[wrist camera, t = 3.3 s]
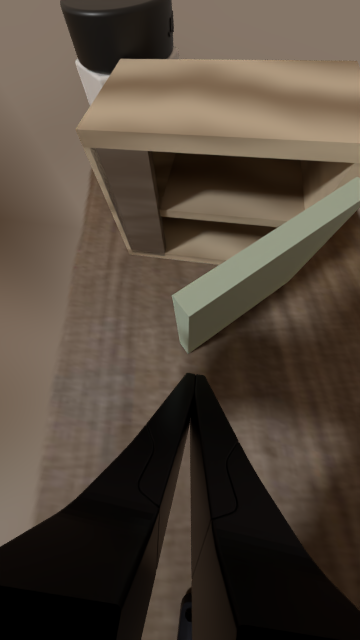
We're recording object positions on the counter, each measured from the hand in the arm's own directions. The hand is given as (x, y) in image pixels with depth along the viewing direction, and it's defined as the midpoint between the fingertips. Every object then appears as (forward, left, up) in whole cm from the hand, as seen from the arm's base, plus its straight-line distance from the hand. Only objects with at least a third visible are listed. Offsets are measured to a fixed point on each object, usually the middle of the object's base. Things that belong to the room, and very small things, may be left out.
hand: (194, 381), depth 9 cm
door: (+7, -3, -6) cm, 10 cm away
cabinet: (+16, +1, -7) cm, 18 cm away
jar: (+25, +10, -7) cm, 28 cm away
